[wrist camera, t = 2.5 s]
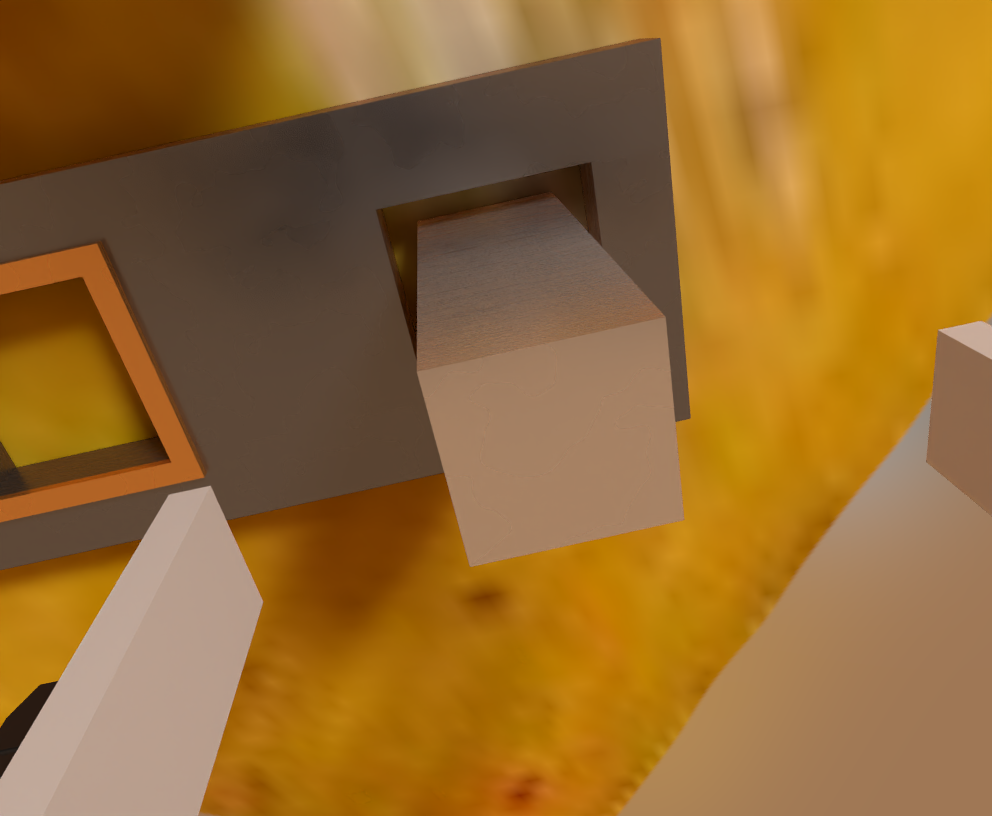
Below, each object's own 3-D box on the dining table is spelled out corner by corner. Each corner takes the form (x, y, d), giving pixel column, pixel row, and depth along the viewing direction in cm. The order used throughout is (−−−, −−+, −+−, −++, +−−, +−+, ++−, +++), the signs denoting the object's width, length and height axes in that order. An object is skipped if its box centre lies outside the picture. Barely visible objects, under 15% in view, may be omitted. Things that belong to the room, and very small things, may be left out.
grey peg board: (-7, 542, 27) (-42, 583, 25) (-214, 227, 21) (-281, 247, 19) (672, 393, 27) (693, 422, 25) (640, 38, 21) (663, 38, 19)
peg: (448, 345, 25) (470, 567, 14) (417, 221, 23) (416, 372, 12) (571, 318, 25) (684, 520, 14) (551, 191, 23) (665, 317, 12)
